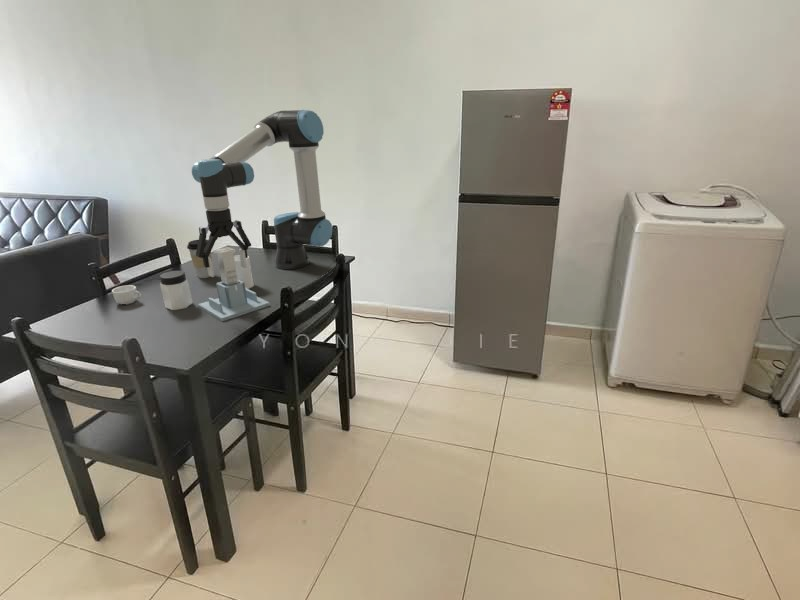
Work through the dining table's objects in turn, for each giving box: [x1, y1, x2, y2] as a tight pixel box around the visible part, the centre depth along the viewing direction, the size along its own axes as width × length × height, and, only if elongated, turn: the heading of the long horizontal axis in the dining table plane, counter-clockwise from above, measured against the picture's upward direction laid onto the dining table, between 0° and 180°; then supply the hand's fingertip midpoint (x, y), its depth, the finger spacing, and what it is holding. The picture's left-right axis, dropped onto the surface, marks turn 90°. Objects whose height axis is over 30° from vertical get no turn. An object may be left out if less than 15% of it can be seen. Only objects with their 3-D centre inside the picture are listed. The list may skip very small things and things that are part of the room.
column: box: [213, 246, 238, 287], centre depth 158 cm, size 5×5×20 cm
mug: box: [234, 254, 255, 290], centre depth 178 cm, size 12×8×12 cm
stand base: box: [197, 280, 271, 322], centre depth 161 cm, size 18×18×9 cm
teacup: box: [111, 284, 142, 305], centre depth 167 cm, size 10×8×5 cm
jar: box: [159, 270, 193, 311], centre depth 162 cm, size 9×8×12 cm
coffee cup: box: [186, 239, 213, 279], centre depth 191 cm, size 9×9×15 cm
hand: (228, 271), depth 157 cm, fingers open, 11 cm apart
